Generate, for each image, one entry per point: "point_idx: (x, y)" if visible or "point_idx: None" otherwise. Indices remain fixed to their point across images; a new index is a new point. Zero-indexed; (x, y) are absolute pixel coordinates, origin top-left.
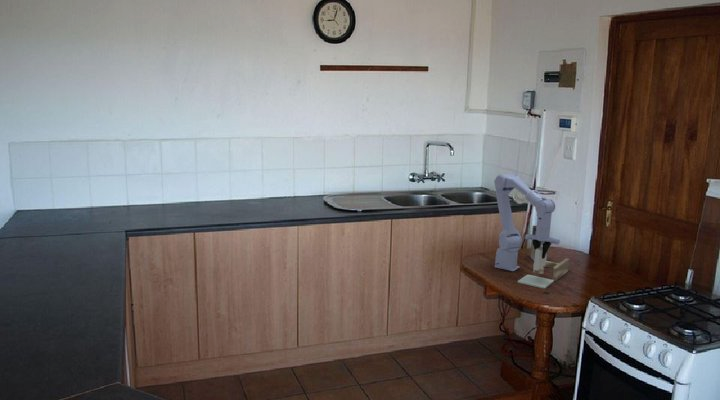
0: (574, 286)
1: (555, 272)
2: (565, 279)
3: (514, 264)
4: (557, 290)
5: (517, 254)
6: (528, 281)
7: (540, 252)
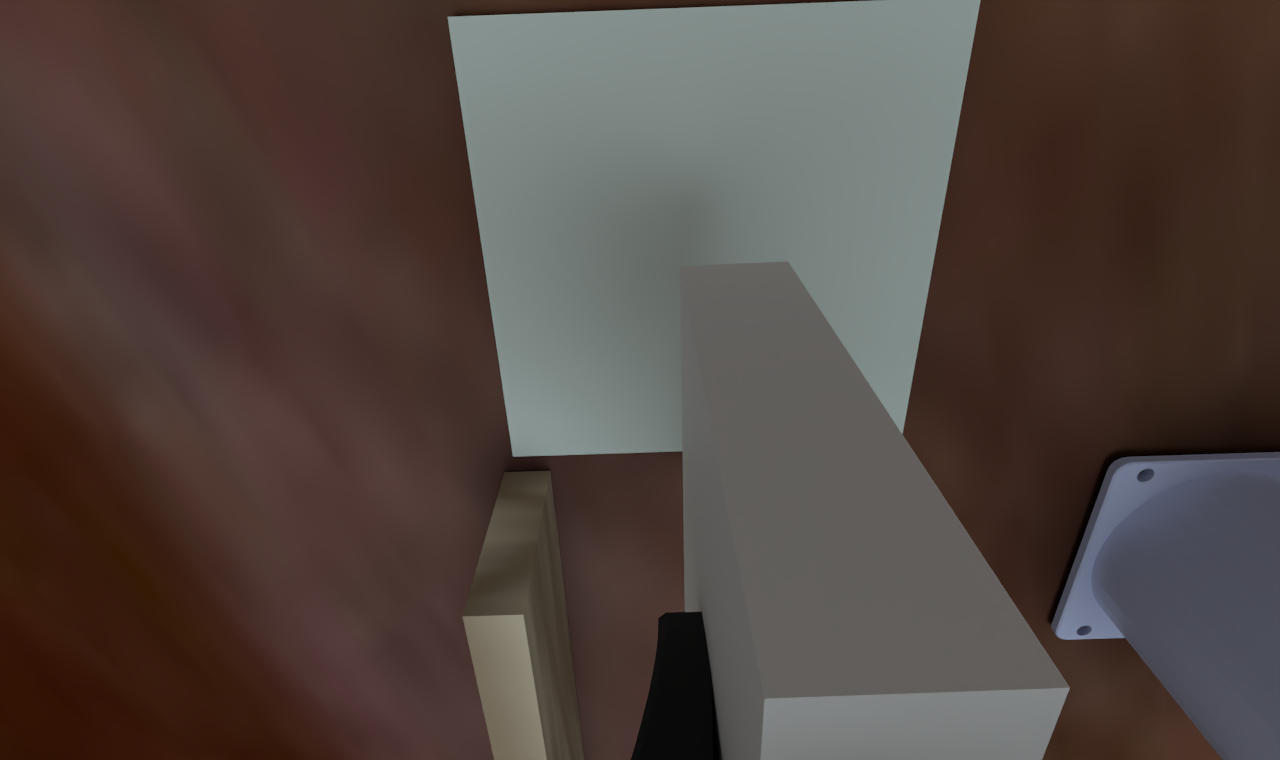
0: (227, 441)
1: (497, 555)
2: (449, 591)
3: (1162, 572)
4: (265, 99)
5: (1242, 753)
6: (799, 133)
7: (738, 668)
